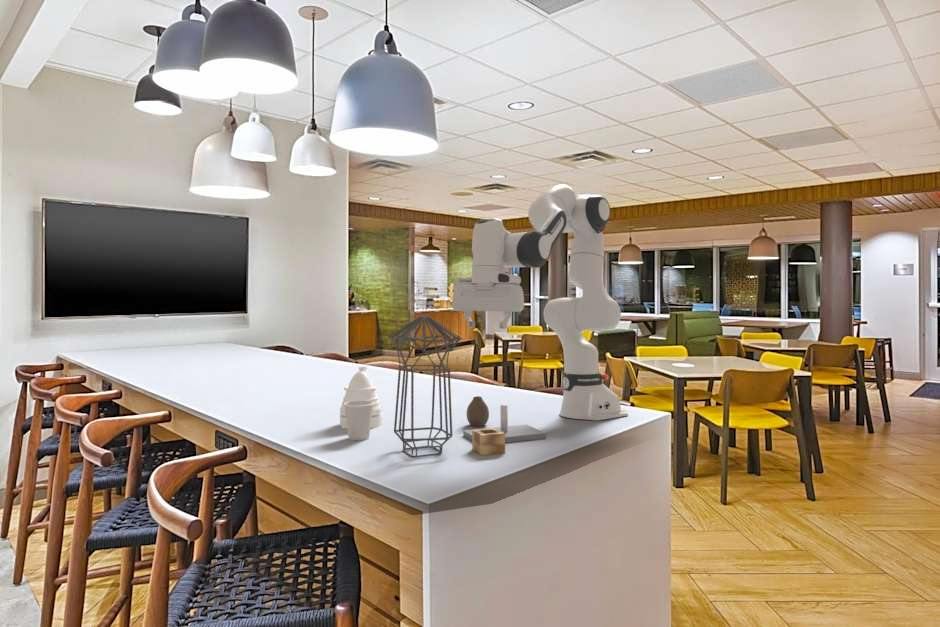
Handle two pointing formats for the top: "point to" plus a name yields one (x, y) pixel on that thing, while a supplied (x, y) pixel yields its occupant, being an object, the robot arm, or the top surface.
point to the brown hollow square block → (488, 441)
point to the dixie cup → (358, 418)
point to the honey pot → (362, 397)
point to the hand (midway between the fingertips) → (487, 328)
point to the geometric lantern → (423, 339)
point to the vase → (477, 412)
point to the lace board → (512, 429)
